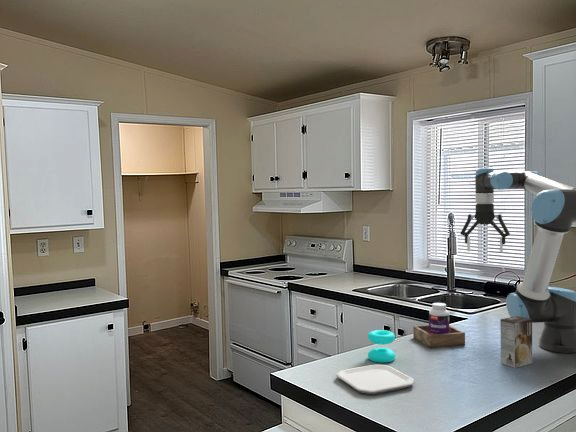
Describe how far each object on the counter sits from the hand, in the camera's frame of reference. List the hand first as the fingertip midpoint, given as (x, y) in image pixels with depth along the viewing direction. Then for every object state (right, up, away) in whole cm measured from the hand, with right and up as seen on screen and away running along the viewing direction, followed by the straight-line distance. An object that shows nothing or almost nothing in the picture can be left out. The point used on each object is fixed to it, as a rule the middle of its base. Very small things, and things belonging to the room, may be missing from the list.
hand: (484, 251), depth 230 cm
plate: (-59, -39, -60) cm, 93 cm away
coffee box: (-6, -37, -45) cm, 58 cm away
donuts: (-52, -38, -37) cm, 74 cm away
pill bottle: (-25, -35, -16) cm, 46 cm away
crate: (-25, -36, -16) cm, 47 cm away
